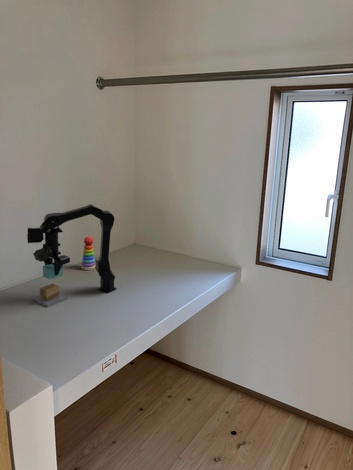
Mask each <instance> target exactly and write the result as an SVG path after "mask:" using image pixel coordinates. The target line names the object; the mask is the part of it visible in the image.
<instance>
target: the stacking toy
mask: <svg viewBox="0 0 353 470" xmlns="http://www.w3.org/2000/svg"><path fill="white" fill-rule="evenodd" d="M83 242H84V246H83V252H82V254H83V255H82V259H81V266H80V267H81V269H82V270H85V271H92V270H96V269H95V266H96V259H95V251H94V245H93V243H94V238H93V237H92V236H90V235H89V236H86V237H84V240H83Z"/></svg>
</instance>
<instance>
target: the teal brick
mask: <svg viewBox="0 0 353 470" xmlns="http://www.w3.org/2000/svg"><path fill="white" fill-rule="evenodd" d="M42 276H43V277H44V278H46V279H48V280H52V279H56V278H59V277H61V276H62V277H63V266H62V267H61V269H60V271H59V274H58V275H57V276H56V275H55V270H54V265H53V264H49V265H45V264H44V265H43V266H42Z"/></svg>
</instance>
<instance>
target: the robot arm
mask: <svg viewBox="0 0 353 470" xmlns="http://www.w3.org/2000/svg"><path fill="white" fill-rule="evenodd" d="M89 215H92V216H94V217H96V218H98V219H99V224H100V228H101V236H100V247H99V258H98V259H95V269H94V270H96V272H97V274H98V275H99V277H100V283H99V284H100V286H99V287H98V291H101V292H104V293H105V294H106V293H107V294H108V293H111V292H114V291H115V290H117V288H116V287H115V278H116V276H115V274H114V272H113V271H112V270H111V265H110V260H109V256H110V246H111V245H110V244H111V231H112V229H113V227H114V223H115V216H114V215H113V213H112V212H110V211H109V210H102V209H101V208H99V207H96V206H95V205H94V204H91V203H90V204H88V205H86V206H82V207H77V208H75V209H72V210H68V211H64V212H63V211H62V212H52V213H47V214H45V216H44V218H43V221H42V223H41V224H40V226H39V227H27V234H26V237H27V244H38V243H40V244H42V242H43V241H44V243H43V244H42V247H41V248H40V249H36V250H35V251H34V252H33V256H34V258H35V259H34V260H35V261H38V262H43V263H44V266H45V265H49V264H53V265H54V270H55V275H56V276H57V275H58V274H59V271H60V269H61V267H62V268H63V266H64V265H65V264H69V263H71V257H69V256H68V255H64V254H61V251H59V247H60V246H61V243H59V233H63V229H62V228H60V226H62V225H63V224H65V223H67V222H70V221H74V220H76V219H80V218H83V217H87V216H89Z"/></svg>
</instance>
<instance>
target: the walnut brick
mask: <svg viewBox="0 0 353 470" xmlns="http://www.w3.org/2000/svg"><path fill="white" fill-rule="evenodd" d="M60 291H61V290H60V286H59V285H57V284H55V283H50V284H47V285H44V286H41V287H40V288H39V295H40V298H41V299H43V300H45V301H49V300H52V299H54V298H57V297H59V296H60V294H61V292H60Z"/></svg>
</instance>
